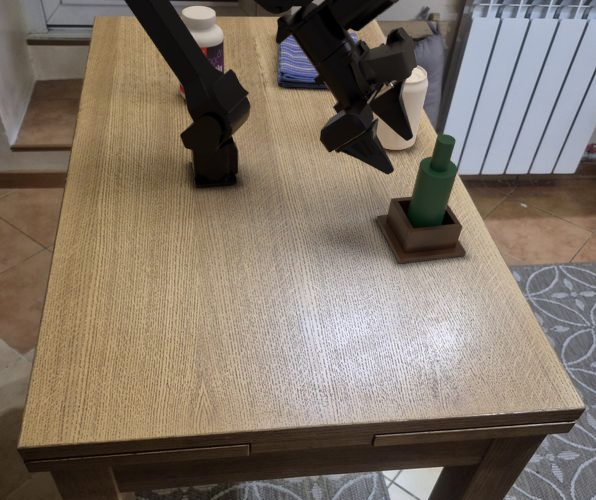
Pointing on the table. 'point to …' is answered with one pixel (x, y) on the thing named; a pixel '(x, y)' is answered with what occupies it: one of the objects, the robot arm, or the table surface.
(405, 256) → the holder
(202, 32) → the pill bottle
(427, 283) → the table surface
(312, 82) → the dish towel
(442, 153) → the bottle
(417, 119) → the beverage can
